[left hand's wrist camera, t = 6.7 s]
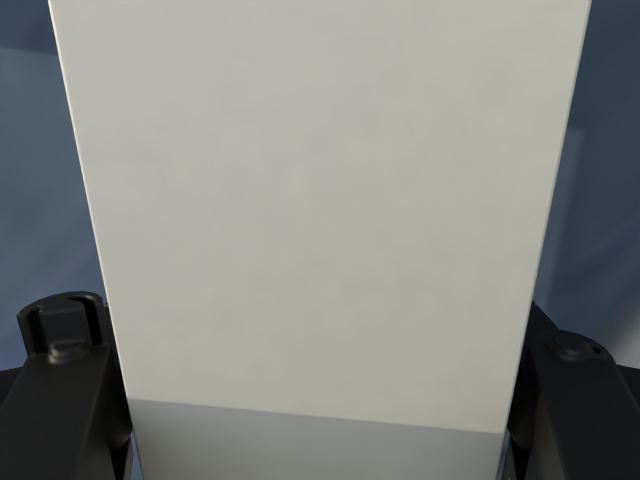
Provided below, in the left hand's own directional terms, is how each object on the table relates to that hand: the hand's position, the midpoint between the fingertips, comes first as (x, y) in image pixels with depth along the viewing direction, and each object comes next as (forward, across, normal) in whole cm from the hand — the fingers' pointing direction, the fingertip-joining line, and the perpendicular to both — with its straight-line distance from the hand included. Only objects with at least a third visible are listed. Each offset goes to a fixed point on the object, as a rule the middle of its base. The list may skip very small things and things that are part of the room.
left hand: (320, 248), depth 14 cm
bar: (+1, 0, -21) cm, 21 cm away
